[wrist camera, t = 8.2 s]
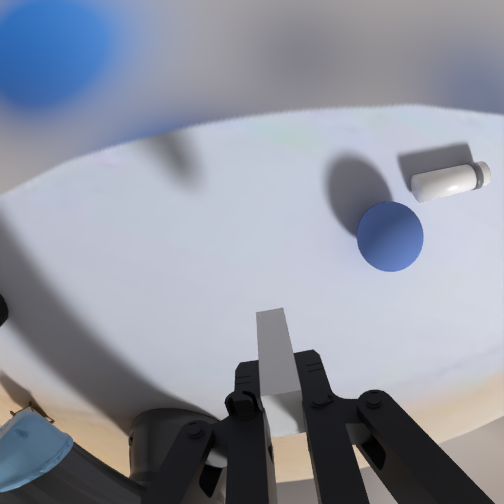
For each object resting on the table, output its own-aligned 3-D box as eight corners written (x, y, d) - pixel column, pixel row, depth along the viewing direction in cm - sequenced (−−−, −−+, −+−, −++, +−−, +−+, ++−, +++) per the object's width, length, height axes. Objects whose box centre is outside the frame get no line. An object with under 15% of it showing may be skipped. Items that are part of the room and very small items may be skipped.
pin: (407, 185, 24) (472, 171, 23) (419, 208, 23) (484, 191, 22) (414, 168, 21) (481, 155, 21) (427, 192, 20) (495, 176, 20)
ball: (428, 262, 22) (370, 276, 25) (412, 200, 23) (356, 217, 26) (433, 263, 18) (360, 280, 20) (412, 186, 18) (342, 206, 21)
